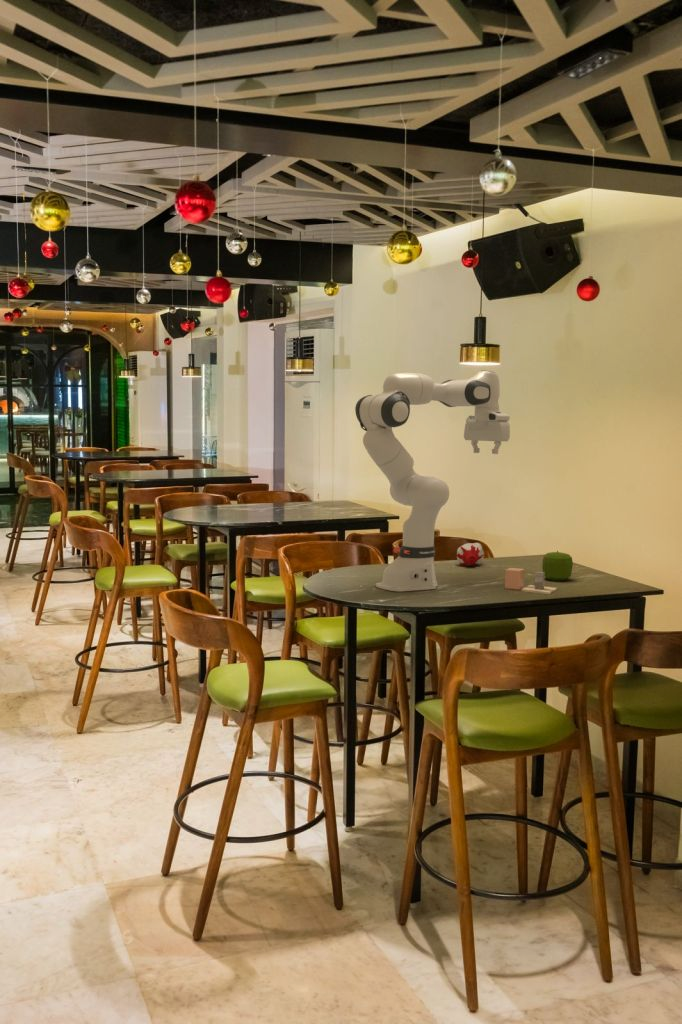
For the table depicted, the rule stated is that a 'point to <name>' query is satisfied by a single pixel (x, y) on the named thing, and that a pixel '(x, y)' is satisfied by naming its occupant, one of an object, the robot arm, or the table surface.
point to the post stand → (539, 585)
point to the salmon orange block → (514, 578)
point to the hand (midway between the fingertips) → (485, 453)
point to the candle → (470, 554)
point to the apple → (557, 566)
